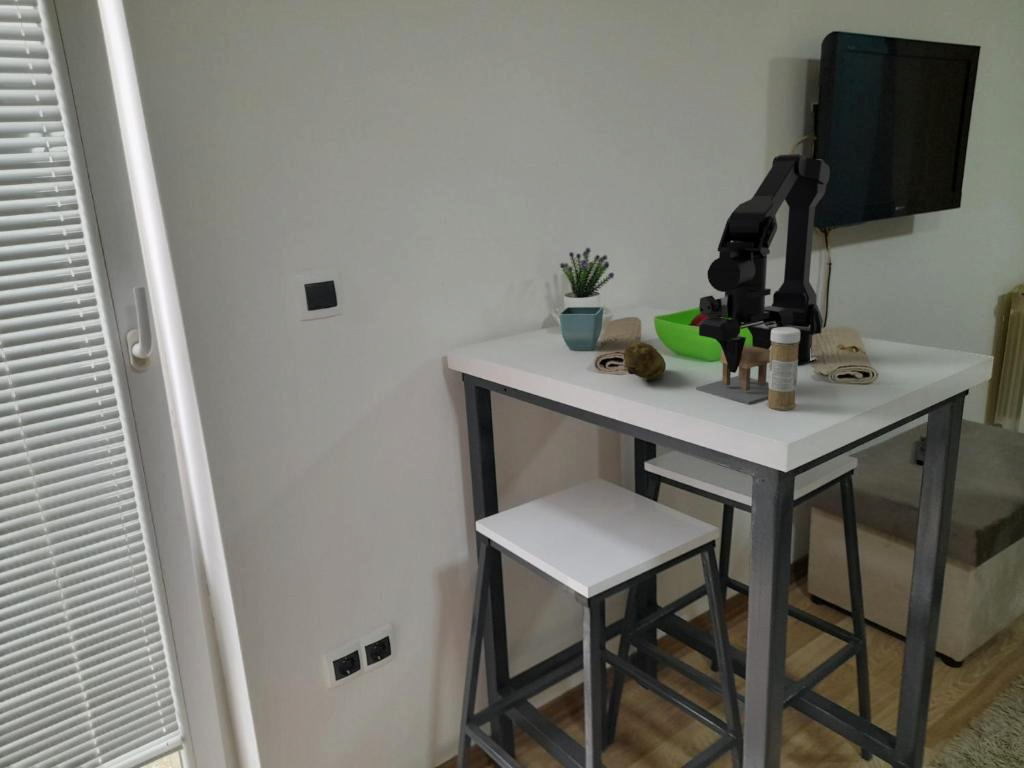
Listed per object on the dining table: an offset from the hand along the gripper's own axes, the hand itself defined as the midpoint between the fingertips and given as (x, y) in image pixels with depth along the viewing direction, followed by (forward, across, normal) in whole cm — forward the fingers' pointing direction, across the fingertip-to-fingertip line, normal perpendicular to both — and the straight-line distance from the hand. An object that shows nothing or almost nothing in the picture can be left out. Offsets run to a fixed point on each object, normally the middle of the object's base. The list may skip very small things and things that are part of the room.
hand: (744, 369), depth 134 cm
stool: (+3, 0, 0) cm, 3 cm away
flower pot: (+4, +1, -46) cm, 46 cm away
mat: (+4, 0, 0) cm, 4 cm away
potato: (+4, +8, -17) cm, 19 cm away
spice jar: (+4, +3, +10) cm, 12 cm away
